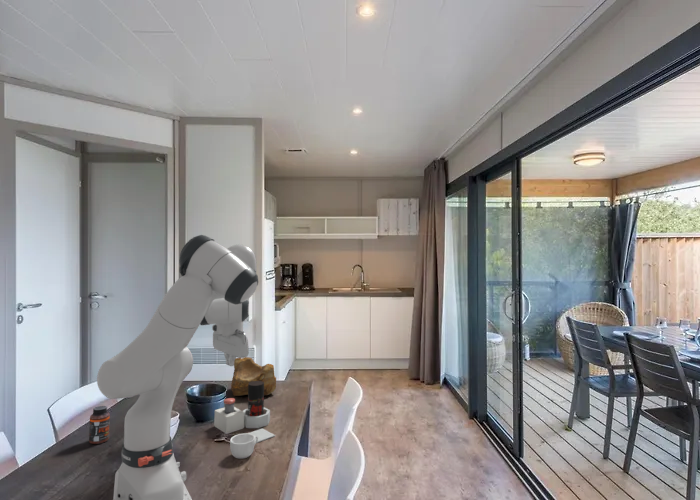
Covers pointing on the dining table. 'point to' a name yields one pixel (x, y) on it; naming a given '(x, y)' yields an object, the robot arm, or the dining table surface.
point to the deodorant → (255, 398)
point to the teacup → (242, 445)
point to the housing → (239, 420)
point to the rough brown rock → (252, 376)
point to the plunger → (229, 405)
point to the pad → (262, 434)
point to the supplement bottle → (99, 425)
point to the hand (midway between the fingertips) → (230, 365)
